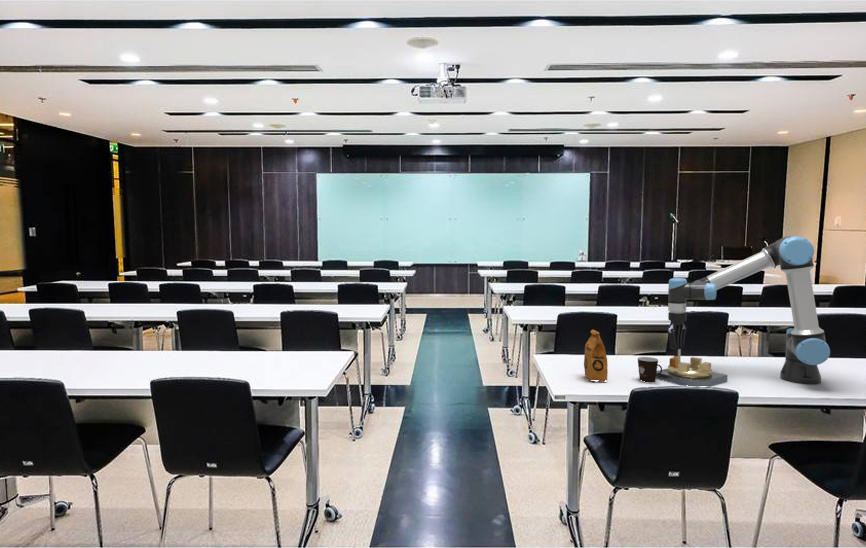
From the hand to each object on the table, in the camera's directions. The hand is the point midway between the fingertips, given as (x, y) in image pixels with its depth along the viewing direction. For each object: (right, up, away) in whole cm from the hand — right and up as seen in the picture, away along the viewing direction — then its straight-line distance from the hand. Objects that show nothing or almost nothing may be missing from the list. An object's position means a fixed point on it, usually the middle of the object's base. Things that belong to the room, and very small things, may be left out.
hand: (676, 362), depth 248 cm
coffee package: (-38, -7, -3) cm, 39 cm away
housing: (+3, -7, -6) cm, 9 cm away
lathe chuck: (+3, -4, -6) cm, 8 cm away
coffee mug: (-16, -7, -8) cm, 20 cm away
